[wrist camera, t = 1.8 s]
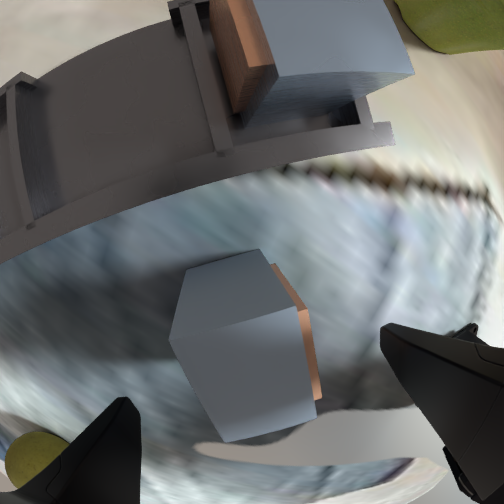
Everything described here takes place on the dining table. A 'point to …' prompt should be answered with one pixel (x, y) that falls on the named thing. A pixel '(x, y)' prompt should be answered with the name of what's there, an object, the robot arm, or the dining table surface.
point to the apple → (31, 455)
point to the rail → (190, 108)
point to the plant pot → (456, 24)
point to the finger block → (246, 346)
